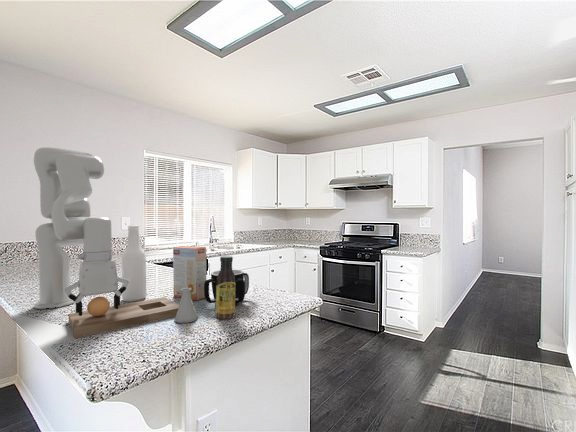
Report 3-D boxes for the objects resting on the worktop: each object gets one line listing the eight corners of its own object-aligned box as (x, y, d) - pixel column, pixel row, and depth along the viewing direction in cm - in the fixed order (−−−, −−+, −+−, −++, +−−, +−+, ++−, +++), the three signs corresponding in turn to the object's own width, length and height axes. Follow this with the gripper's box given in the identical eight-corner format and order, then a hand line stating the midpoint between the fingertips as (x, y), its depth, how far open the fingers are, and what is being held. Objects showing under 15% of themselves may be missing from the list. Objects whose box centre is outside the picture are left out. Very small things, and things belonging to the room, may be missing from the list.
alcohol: (130, 303, 118) (129, 226, 118) (117, 300, 123) (116, 225, 123) (150, 297, 125) (149, 225, 125) (138, 295, 130) (137, 225, 130)
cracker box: (207, 297, 125) (206, 246, 125) (195, 301, 119) (195, 248, 119) (184, 293, 132) (184, 245, 132) (173, 296, 127) (172, 246, 127)
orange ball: (86, 315, 96) (85, 296, 96) (107, 311, 100) (107, 293, 100) (88, 320, 91) (88, 300, 91) (111, 316, 95) (111, 296, 95)
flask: (190, 324, 94) (190, 292, 94) (169, 323, 95) (169, 291, 95) (202, 316, 101) (201, 286, 101) (182, 315, 102) (181, 286, 102)
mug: (214, 297, 125) (214, 268, 125) (253, 298, 123) (252, 268, 123) (199, 309, 108) (198, 276, 108) (243, 310, 107) (242, 276, 107)
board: (68, 321, 98) (68, 314, 98) (164, 303, 117) (164, 296, 117) (75, 338, 84) (74, 329, 84) (182, 314, 103) (182, 307, 103)
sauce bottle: (218, 321, 96) (217, 258, 96) (213, 315, 102) (212, 256, 102) (238, 317, 99) (237, 257, 99) (232, 312, 105) (231, 254, 105)
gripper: (64, 261, 87) (65, 320, 87) (131, 255, 98) (132, 308, 98) (62, 258, 93) (63, 314, 93) (125, 253, 104) (126, 303, 104)
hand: (98, 311), depth 95 cm, fingers open, 9 cm apart
